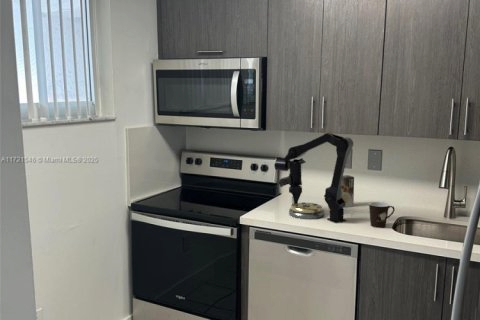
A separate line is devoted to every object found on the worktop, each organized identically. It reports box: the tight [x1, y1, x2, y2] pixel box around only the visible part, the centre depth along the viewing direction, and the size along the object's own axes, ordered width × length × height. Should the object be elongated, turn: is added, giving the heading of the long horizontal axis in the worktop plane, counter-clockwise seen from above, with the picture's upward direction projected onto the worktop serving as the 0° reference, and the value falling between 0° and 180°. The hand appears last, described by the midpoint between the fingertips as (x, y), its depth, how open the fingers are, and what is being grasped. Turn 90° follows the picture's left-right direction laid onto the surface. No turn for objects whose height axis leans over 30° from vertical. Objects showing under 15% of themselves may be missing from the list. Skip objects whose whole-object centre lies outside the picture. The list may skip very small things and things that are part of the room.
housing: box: [288, 208, 325, 220], centre depth 217 cm, size 17×17×2 cm
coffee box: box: [341, 174, 355, 208], centre depth 234 cm, size 9×6×16 cm
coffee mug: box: [368, 201, 395, 229], centre depth 197 cm, size 12×9×10 cm
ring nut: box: [290, 196, 323, 214], centre depth 217 cm, size 15×15×6 cm
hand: (295, 202), depth 218 cm, fingers open, 5 cm apart
